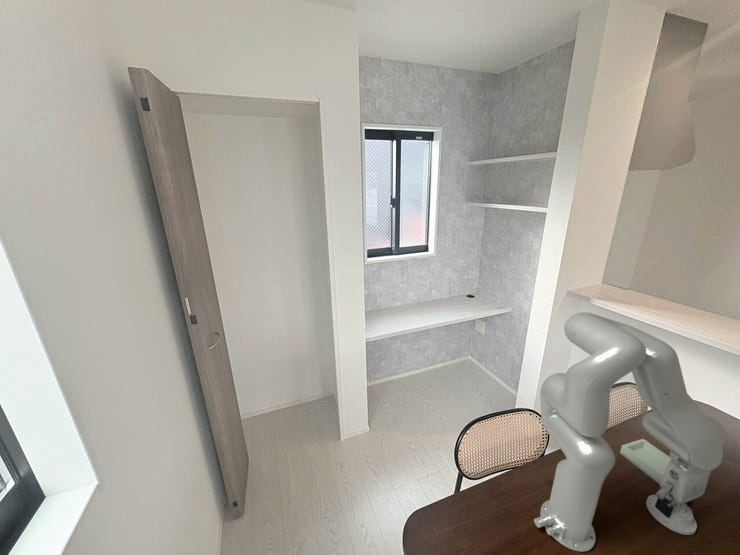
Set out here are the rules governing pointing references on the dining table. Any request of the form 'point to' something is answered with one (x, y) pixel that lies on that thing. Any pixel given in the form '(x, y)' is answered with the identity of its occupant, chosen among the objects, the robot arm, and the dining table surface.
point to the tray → (646, 458)
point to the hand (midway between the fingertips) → (672, 507)
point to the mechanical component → (674, 516)
